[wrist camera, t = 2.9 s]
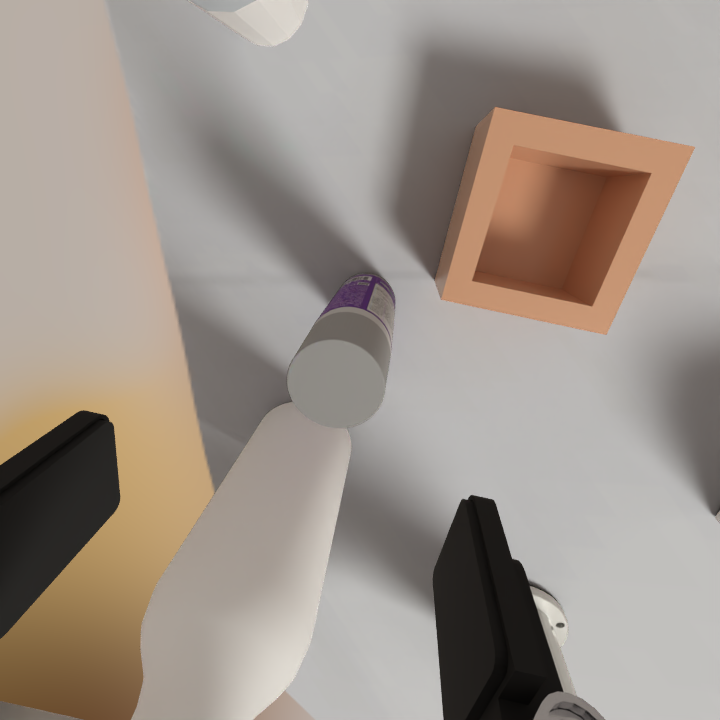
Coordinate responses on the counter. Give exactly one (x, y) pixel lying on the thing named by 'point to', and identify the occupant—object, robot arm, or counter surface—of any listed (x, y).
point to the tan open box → (555, 218)
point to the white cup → (258, 18)
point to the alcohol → (246, 578)
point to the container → (346, 355)
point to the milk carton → (718, 517)
